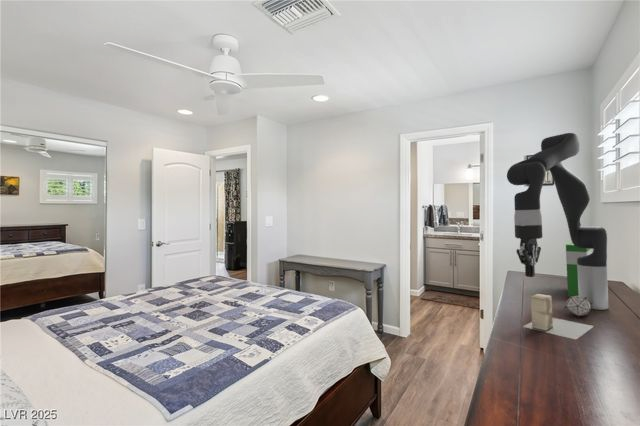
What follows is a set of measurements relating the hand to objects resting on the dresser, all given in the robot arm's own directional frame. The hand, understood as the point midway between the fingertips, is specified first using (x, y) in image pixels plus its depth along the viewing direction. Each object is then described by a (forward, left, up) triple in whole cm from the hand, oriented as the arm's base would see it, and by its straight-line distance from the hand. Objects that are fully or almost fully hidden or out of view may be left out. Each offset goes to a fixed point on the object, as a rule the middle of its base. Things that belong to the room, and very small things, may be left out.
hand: (530, 276), depth 102 cm
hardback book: (-73, -7, -19) cm, 76 cm away
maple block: (-8, 0, -19) cm, 20 cm away
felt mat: (-14, +3, -19) cm, 24 cm away
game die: (-33, +3, -19) cm, 38 cm away
